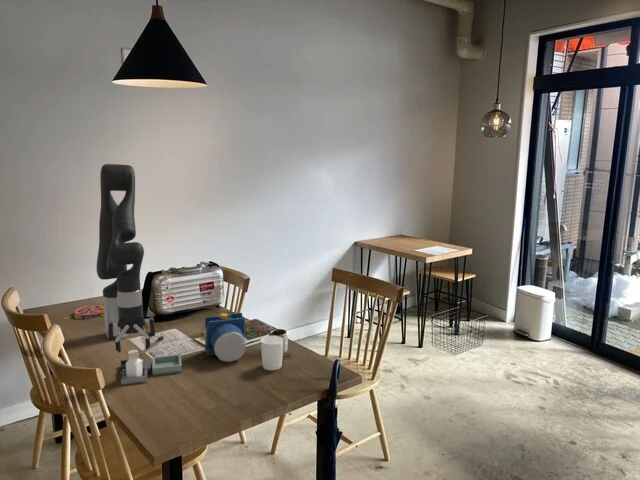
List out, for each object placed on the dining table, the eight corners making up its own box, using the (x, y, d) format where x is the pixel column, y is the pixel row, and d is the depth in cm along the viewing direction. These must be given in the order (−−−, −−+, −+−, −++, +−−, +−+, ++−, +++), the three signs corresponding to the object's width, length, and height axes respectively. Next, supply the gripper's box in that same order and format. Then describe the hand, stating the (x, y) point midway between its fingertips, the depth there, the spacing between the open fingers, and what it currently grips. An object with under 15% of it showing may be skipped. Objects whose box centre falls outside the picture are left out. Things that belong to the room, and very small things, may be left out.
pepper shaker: (143, 376, 173) (141, 349, 171) (137, 381, 169) (135, 354, 167) (132, 375, 174) (130, 348, 172) (126, 380, 170) (124, 353, 168)
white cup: (286, 363, 183) (286, 337, 181) (278, 372, 176) (277, 345, 174) (266, 360, 186) (266, 334, 184) (257, 369, 179) (256, 342, 177)
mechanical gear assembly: (61, 315, 232) (68, 325, 221) (60, 306, 231) (68, 316, 220) (128, 302, 250) (138, 312, 239) (127, 294, 249) (138, 303, 238)
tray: (153, 364, 182) (152, 357, 182) (180, 360, 185) (180, 354, 184) (152, 375, 173) (152, 368, 173) (182, 372, 176) (181, 365, 175)
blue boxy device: (203, 349, 194) (203, 314, 189) (242, 344, 199) (243, 309, 194) (210, 368, 182) (209, 331, 177) (251, 362, 188) (251, 325, 183)
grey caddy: (121, 366, 180) (120, 355, 179) (151, 362, 183) (150, 352, 182) (118, 385, 166) (117, 374, 165) (150, 381, 169) (149, 370, 168)
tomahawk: (144, 363, 185) (144, 360, 185) (128, 360, 186) (128, 357, 186) (174, 340, 205) (174, 338, 204) (160, 338, 206) (160, 335, 206)
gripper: (153, 297, 172) (156, 343, 175) (107, 301, 168) (111, 348, 171) (152, 304, 165) (155, 351, 168) (105, 308, 161) (109, 357, 164)
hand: (133, 350), depth 169 cm, fingers open, 8 cm apart
